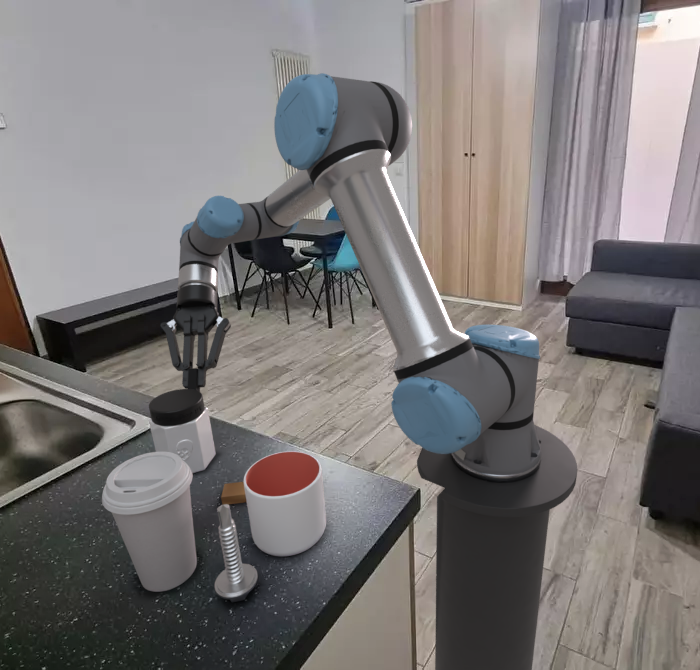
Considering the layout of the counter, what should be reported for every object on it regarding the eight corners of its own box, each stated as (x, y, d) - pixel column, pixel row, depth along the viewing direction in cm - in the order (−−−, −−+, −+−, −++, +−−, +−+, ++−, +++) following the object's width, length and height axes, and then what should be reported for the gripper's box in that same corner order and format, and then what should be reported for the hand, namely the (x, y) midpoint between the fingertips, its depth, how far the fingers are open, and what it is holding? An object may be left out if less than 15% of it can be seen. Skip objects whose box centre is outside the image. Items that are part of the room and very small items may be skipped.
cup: (292, 499, 73) (285, 442, 70) (341, 526, 68) (337, 466, 64) (237, 540, 66) (226, 479, 62) (288, 573, 60) (279, 509, 57)
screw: (267, 581, 59) (245, 615, 55) (232, 572, 61) (208, 605, 56) (254, 494, 55) (228, 523, 50) (217, 487, 56) (189, 515, 52)
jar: (160, 483, 78) (145, 417, 73) (159, 456, 85) (145, 395, 80) (219, 467, 81) (207, 404, 77) (213, 443, 88) (202, 384, 84)
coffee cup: (108, 588, 59) (77, 487, 53) (169, 534, 67) (148, 441, 62) (168, 613, 55) (141, 507, 50) (225, 553, 64) (207, 456, 58)
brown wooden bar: (312, 481, 77) (312, 473, 77) (312, 494, 74) (312, 485, 74) (225, 491, 75) (224, 483, 75) (222, 505, 72) (220, 497, 72)
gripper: (234, 299, 103) (234, 406, 93) (169, 303, 101) (162, 413, 91) (227, 280, 96) (225, 394, 86) (157, 284, 94) (148, 401, 84)
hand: (193, 404), depth 89 cm, fingers closed
